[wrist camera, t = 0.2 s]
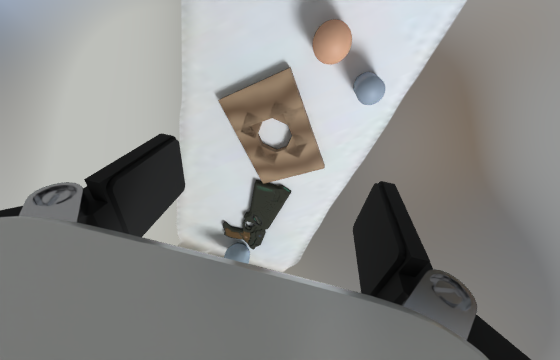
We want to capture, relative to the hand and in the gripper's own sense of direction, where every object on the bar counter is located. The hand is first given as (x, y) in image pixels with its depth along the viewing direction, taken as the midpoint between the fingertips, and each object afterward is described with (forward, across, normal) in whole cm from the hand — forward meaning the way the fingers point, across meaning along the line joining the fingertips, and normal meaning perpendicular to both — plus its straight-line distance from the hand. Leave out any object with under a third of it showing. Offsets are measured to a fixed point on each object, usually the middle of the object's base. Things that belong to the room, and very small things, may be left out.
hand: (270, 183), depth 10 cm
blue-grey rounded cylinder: (+36, -10, 0) cm, 38 cm away
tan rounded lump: (+36, -2, -5) cm, 37 cm away
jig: (+36, +5, +13) cm, 39 cm away
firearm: (+38, +9, +40) cm, 56 cm away
